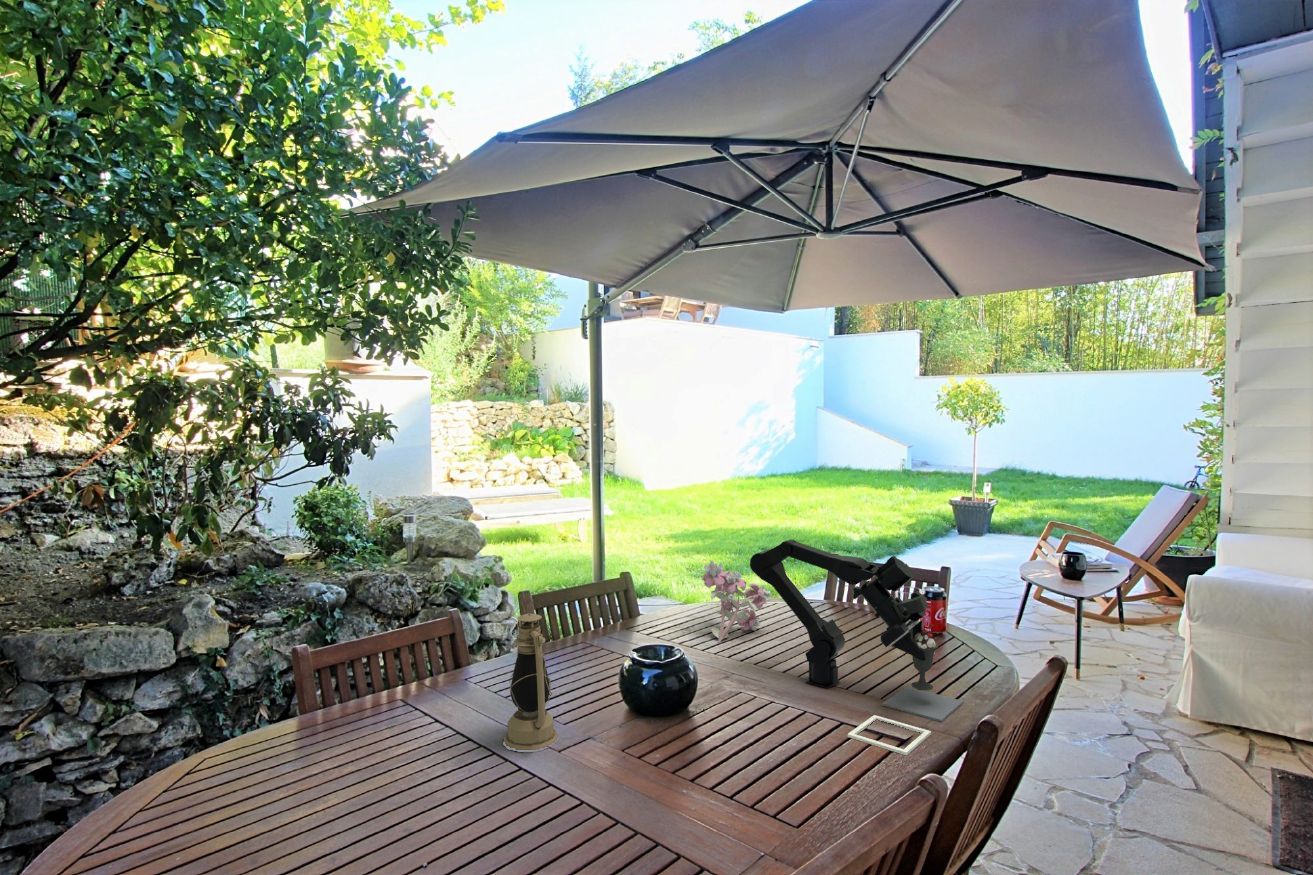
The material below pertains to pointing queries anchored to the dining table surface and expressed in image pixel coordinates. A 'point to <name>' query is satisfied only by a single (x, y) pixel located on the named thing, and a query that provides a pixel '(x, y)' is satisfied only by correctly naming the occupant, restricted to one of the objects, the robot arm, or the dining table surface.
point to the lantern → (530, 690)
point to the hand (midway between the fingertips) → (928, 655)
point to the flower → (729, 585)
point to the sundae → (923, 666)
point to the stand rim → (902, 751)
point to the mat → (923, 704)
